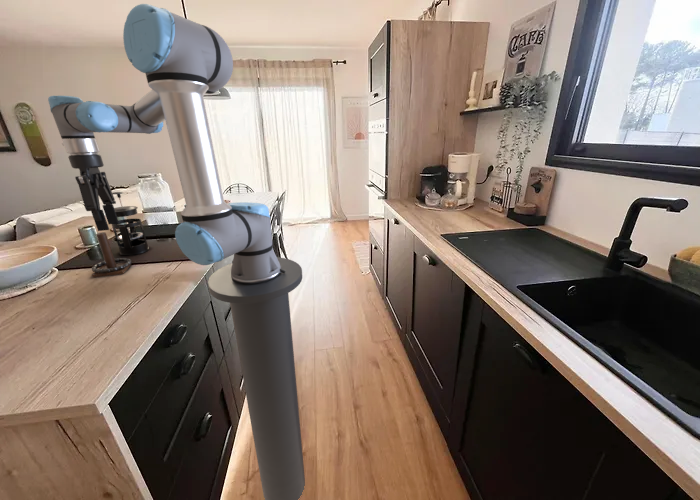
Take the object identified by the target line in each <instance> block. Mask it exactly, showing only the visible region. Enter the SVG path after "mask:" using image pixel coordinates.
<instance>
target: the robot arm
mask: <svg viewBox="0 0 700 500" xmlns="http://www.w3.org/2000/svg"><path fill="white" fill-rule="evenodd" d="M122 35H123V37H122V38H123V46H124V51H125V54H126V57H127V59H128V61H129V62H130V63H131V65H132V66H133V67H134V68H135V69H136V70H138V71H139V72H140V73H142V74H145V77H146V82H147V86H148V87H149V88H150V89H151V90H150V91H148V92H147V93H146V94H144V96H142V97H141V98H140V99H139V100H137V101H136V102H135V103H133V104H132V105H122V104H109V103H105V102H101V101H92V100H87V101H83V99H81V97H78V96H74V95H73V96H72V95H50V96H48V100H47V102H48V104H49V108H50V109H49V110H50V113H51V115H52V117H53V119H54V122H55V125H56V128H57V130H58V133H59V135H60V138H61V140H62V143H61V145H62V146H63V147H64V148H65V152H66V153H67V154H69V155H68V161H69V163H70V166H71V168H72V169H75V170H76V169H78V170H79V176H78V175H77V176H75V177H74V178H75V181H76V183H77V185H78V188H79V191H80V196H81V199H82V202H83V205H84V208H85V211H86V212H91V215H92V218H93V220H94V221H93V222H94V223H95V226H96V228H97V231H98V232H103V231H109V230H110V228H109V225H112V224H117V225H119V224H118V223H119V222H118V220H119V219H118V217H117V216H116V212H115V209H114V208H115V207H114V205H115V204H117V201H116V200H115V197H114V194H112V193H113V192H112V189H111V186H110V183H109V180H108V179H107V178H108V177H107V174H106V172H105V171H100V168H102V167H104V166H105V165H104V161H103V157H102V155H100V154H99V153H100V151H101V150H100V148H99V145H98V143H97V139H96V136H95V134H94V133H119V134H121V133H125V134H146V135H147V134H148V135H150V134H158V133H160V132H162V131H163V127H164V122H165V125H166V129H167V133H168V136H169V137H168V138H169V140H170V144H171V148H172V154H173V157H174V161H175V166H176V169H177V174H178V177H179V182H180V186H181V190H182V194H183V197H184V202H185V206H184V208H183V210H182V211H181V212H180V215H181V219H182V222H181V223H180V224H178V225H177V226H176V228H175V231H174V237H175V242H176V243H177V244H176V245H178V248H179V249H180V251H181V252H182V254H183V255H184V256H185V257H187V259H188V260H190V261H192V262H193V263H194V264H196V265H199V266H209V265H213V264H215V263H219V262H222V261H223V260H225V259H227V258H229V257H231V256H233V258H232V260H231V263H232V268H231V278H232V280H233V281H234V282H236V283H239V284H243V285H255V284H262V283H266V282H269V281H271V280H273V279H275V278H277V277H278V276H279V275H280V274H281V272H282V273H285V271H284V270H282V269H281V266H280V263H279V261H278V259H277V257H278V256H277V254H276V253H275V251H274V246H273V245H274V244H273V235H272V233H273V232H272V224H271V216H270V209H269V207H268V205H266V204H264V203H260V202H248V201H247V202H242V201H241V202H229V203H228V202H226V201H225V200H224V194H223V190H222V185H221V184H222V183H221V179H220V175H219V174H220V173H219V169H218V164H217V159H216V155H215V154H216V153H215V149H214V144H213V139H212V134H211V129H210V123H209V119H208V114H207V109H206V104H205V99H204V97H205V94H206V95H213V94H215V93H217V92H218V91H219V90H221V89H222V88H224V87H225V86H226V85H227V83H228V82H229V81H230V80H231V77H232V75H233V71H234V59H233V55H232V52H231V49H230V47H229V45H228V43H227V42H226V41H225V39H224V38H223V37H222V36H221V35H220V34H219V33H218V32H217V31H216V30H214V29H212V28H211V27H209V26H207V25H204V24H200V23H197V22H196V21H193V20H191V19H188V18H186V17H183V16H181V15H180V14H179V15H178V14H176V13H174V12H171V11H169V10H168V8H167V9H166V8H163V7H158V6H155V5H152V4H148V3H139V4H137V5H135V6H134V7H133V8H131V10H130V11H129V12H128V13H127V16H126V20H125V22H124V25H123V34H122ZM100 200H101V202H102V204H103V205H102V209H101V203H100Z"/></svg>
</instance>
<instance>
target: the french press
mask: <svg viewBox="0 0 700 500" xmlns="http://www.w3.org/2000/svg"><path fill="white" fill-rule="evenodd" d="M112 194H113V195H116V197H117V198H118V200H119V202H120V206H118V207H114V209H115V212H116V216H117V218H123V217H124V219H118V222H119V223H118V224H111V227H112V230H113V233H114V237H115V241H116V243H117V246H118V249H119V255H120V256H125V257H130V256H136V255H141V254H143V253H146V252H148V251H149V250H150V246H149V245H148V240H147V237H146V234H145V230H144V226H143V223H142V219H140V218H127V217H131V216H134V215H137V214H138V206H135V205H129V206H128V205H127V206H126V205H125V206H123V203H122V200H121V198H122V196H121V195H123V194H126V192H125V191H114V192H112ZM137 226H140V229H141V232H139V231H138V232H137V229H136V227H137ZM117 229H118V230H119V233H120V235H118V232H117ZM141 238H143V239H141ZM121 241H122V242H121Z"/></svg>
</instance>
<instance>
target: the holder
mask: <svg viewBox="0 0 700 500" xmlns="http://www.w3.org/2000/svg"><path fill="white" fill-rule="evenodd" d="M95 235H96V239H97V241H98V244H99V247H100V250H101V251H100V252H101V253H102V257H103V259H104V260H103V261H105V263H106V264H105V265H102V266H100V267H98V269H110V268H114V267H118V266H121V265H123V264H125V263H127V262H115V260H114V259H115V257H114V254H113V250H112V247H111V244H110V242H109V238H108V236H107V233H106V232H103V231H101V232H98V233H96V234H95ZM131 266H132V263H131V264H130V265H129V266H128V267H126V268H124V269H121V270H118V271H114V272H108V273H96V272H93V273H92V275H91V276H92V278H101V277H109V276H116V275H124V273H125V272H126V271H127V270H128V269H129V268H130V267H131Z"/></svg>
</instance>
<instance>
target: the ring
mask: <svg viewBox="0 0 700 500" xmlns="http://www.w3.org/2000/svg"><path fill="white" fill-rule="evenodd" d="M114 260H115V263H125V264H123V265H121V266H118V267H114V268H110V269H99V268H100V267H101V266H102V265H106V263H105V260H103V261H100V262H98V263H96V264H94V265H93V266H92V267H91V271H92V272H93V273H95V272H96V273H108V272H114V271H118V270H121V269H124V268H126V267H128V266H129V265H130V264H131V265H132V263H133V261H132V260H131V258H128V257H119V258H114ZM126 262H127V263H126ZM131 265H130V266H131Z"/></svg>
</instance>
